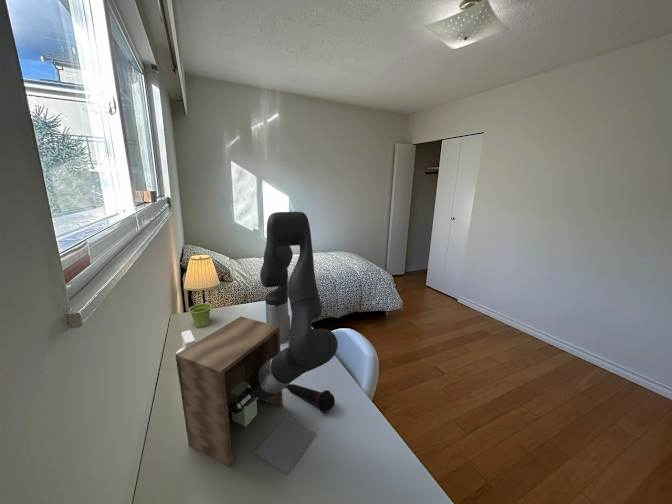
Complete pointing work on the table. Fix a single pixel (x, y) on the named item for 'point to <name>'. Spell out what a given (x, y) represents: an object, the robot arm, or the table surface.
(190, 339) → the cylinder with rectangular tab
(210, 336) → the walnut cubby
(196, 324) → the plant pot
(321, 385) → the table surface
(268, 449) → the slate mat
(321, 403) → the microphone
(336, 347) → the robot arm
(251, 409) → the sage block
